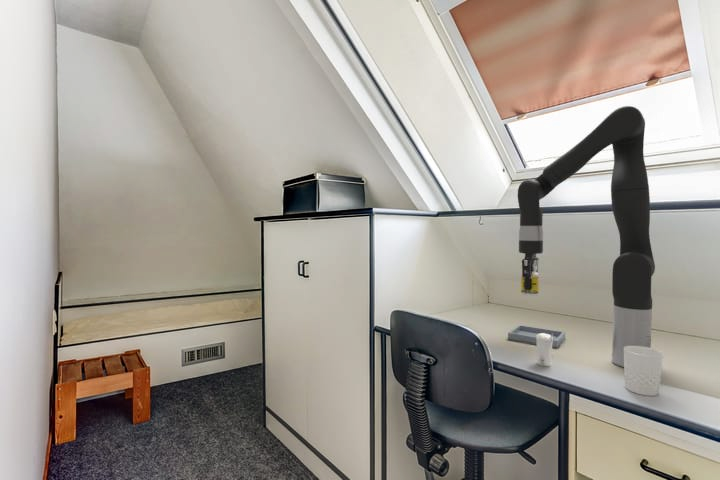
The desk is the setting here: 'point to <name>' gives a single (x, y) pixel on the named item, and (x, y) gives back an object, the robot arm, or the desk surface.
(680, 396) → the desk surface
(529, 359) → the desk surface
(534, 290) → the supplement bottle
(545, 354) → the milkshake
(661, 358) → the white cup
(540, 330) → the tray
